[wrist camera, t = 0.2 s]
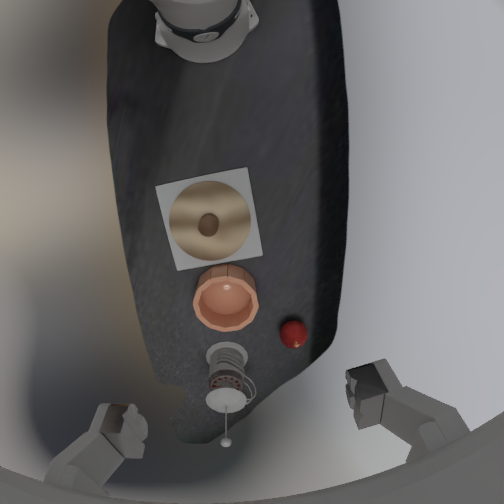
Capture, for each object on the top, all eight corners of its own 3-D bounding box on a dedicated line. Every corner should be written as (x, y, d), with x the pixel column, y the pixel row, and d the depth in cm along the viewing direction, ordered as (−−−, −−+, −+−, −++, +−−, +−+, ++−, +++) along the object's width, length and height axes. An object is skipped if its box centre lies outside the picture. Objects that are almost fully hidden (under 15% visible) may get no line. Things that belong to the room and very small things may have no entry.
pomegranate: (302, 334, 67) (309, 357, 59) (276, 335, 66) (281, 358, 59) (305, 313, 64) (313, 334, 57) (278, 313, 64) (284, 336, 57)
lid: (161, 190, 53) (156, 194, 49) (242, 173, 53) (243, 176, 49) (180, 265, 58) (177, 273, 55) (256, 251, 58) (258, 259, 55)
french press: (217, 335, 65) (211, 425, 42) (262, 353, 68) (273, 441, 45) (199, 363, 68) (189, 450, 45) (242, 379, 71) (246, 464, 48)
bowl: (190, 270, 59) (186, 282, 54) (250, 259, 59) (251, 271, 54) (204, 320, 64) (202, 335, 59) (260, 310, 64) (262, 325, 58)
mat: (155, 186, 53) (155, 186, 53) (247, 167, 53) (247, 167, 52) (177, 269, 59) (177, 270, 59) (262, 254, 59) (262, 255, 59)
